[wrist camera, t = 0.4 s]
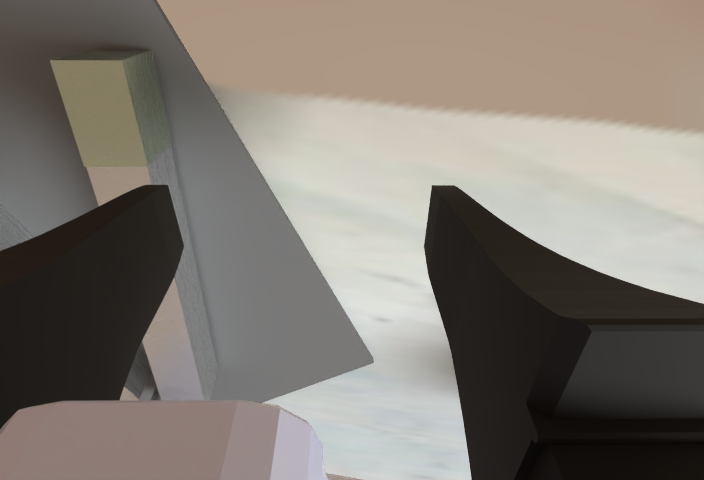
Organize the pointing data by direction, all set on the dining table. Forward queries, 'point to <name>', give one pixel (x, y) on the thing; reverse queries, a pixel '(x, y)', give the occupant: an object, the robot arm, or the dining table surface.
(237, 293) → the mat
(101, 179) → the hinged arm
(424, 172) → the dining table surface
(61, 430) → the robot arm
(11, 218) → the fixed arm
